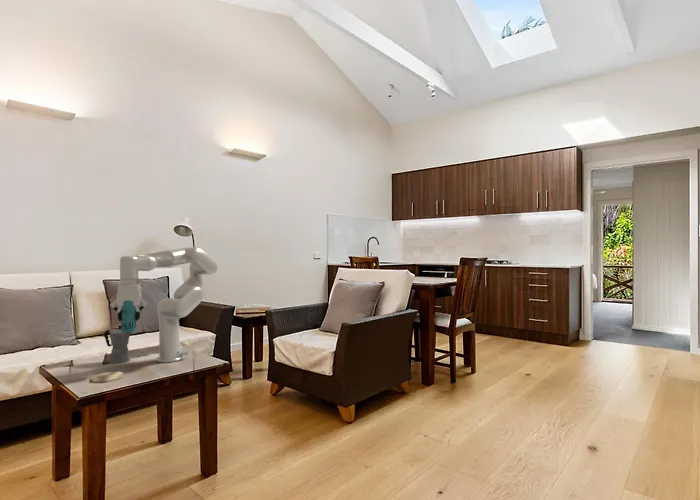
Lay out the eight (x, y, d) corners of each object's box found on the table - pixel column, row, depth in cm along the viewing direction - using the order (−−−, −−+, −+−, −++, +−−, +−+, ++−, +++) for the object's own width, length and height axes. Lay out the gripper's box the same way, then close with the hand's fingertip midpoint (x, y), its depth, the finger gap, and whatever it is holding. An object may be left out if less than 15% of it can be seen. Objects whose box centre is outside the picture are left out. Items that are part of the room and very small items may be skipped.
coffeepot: (137, 359, 215) (137, 324, 216) (125, 363, 206) (125, 327, 206) (110, 358, 218) (110, 324, 218) (97, 362, 208) (97, 327, 208)
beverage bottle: (125, 333, 197) (126, 291, 197) (139, 333, 197) (139, 291, 197) (117, 335, 191) (118, 292, 191) (131, 335, 190) (132, 292, 191)
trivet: (126, 373, 190) (126, 370, 190) (120, 380, 178) (120, 377, 178) (96, 375, 186) (96, 372, 186) (88, 383, 175) (88, 380, 175)
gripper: (150, 281, 200) (150, 318, 200) (110, 282, 195) (110, 320, 195) (147, 282, 193) (147, 320, 193) (106, 283, 188) (105, 322, 188)
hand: (129, 320), depth 194 cm, fingers closed on beverage bottle, 6 cm apart
